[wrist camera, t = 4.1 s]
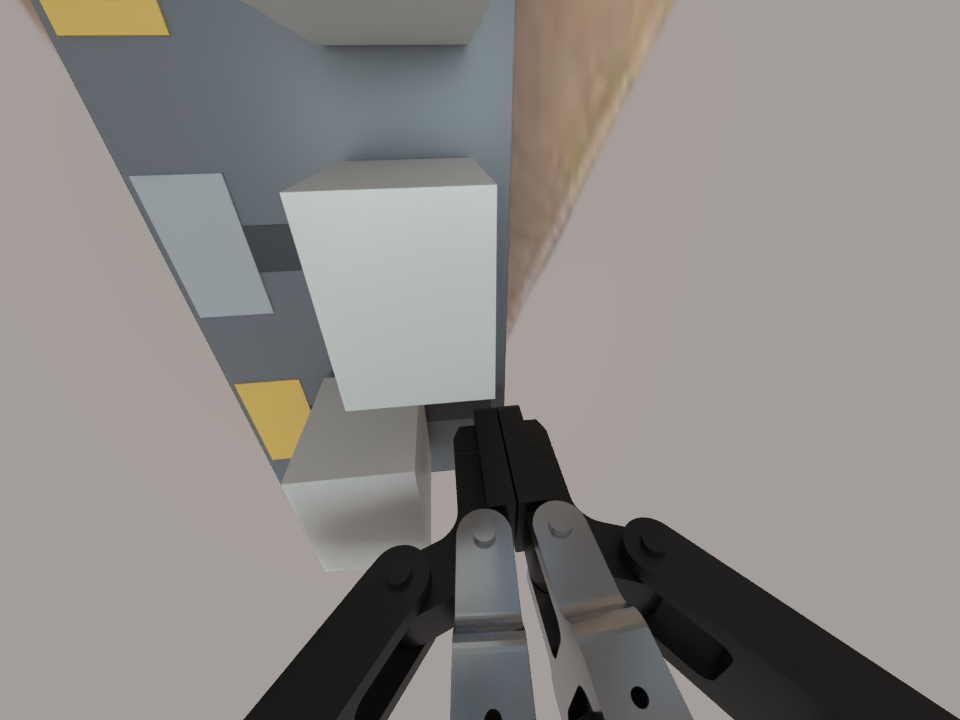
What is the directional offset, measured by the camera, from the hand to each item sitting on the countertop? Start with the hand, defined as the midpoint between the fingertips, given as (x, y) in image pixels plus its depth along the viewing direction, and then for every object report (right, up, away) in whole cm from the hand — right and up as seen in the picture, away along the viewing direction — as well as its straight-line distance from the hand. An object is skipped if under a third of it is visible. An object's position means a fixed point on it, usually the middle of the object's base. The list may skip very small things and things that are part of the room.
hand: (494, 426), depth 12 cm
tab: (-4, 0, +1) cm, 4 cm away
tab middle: (-2, +5, -3) cm, 6 cm away
